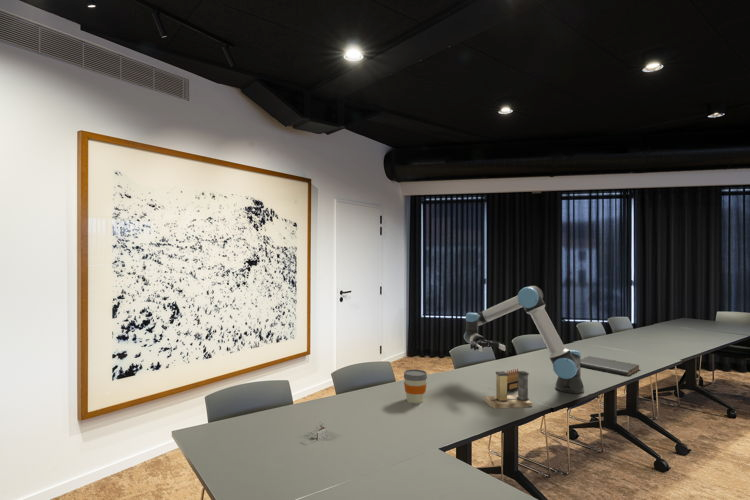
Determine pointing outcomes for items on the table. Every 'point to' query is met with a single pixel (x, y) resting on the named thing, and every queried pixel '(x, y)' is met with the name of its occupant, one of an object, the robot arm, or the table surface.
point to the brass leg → (501, 386)
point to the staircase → (320, 431)
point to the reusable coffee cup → (415, 385)
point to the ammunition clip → (512, 380)
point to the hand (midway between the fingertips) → (493, 349)
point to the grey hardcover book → (609, 365)
